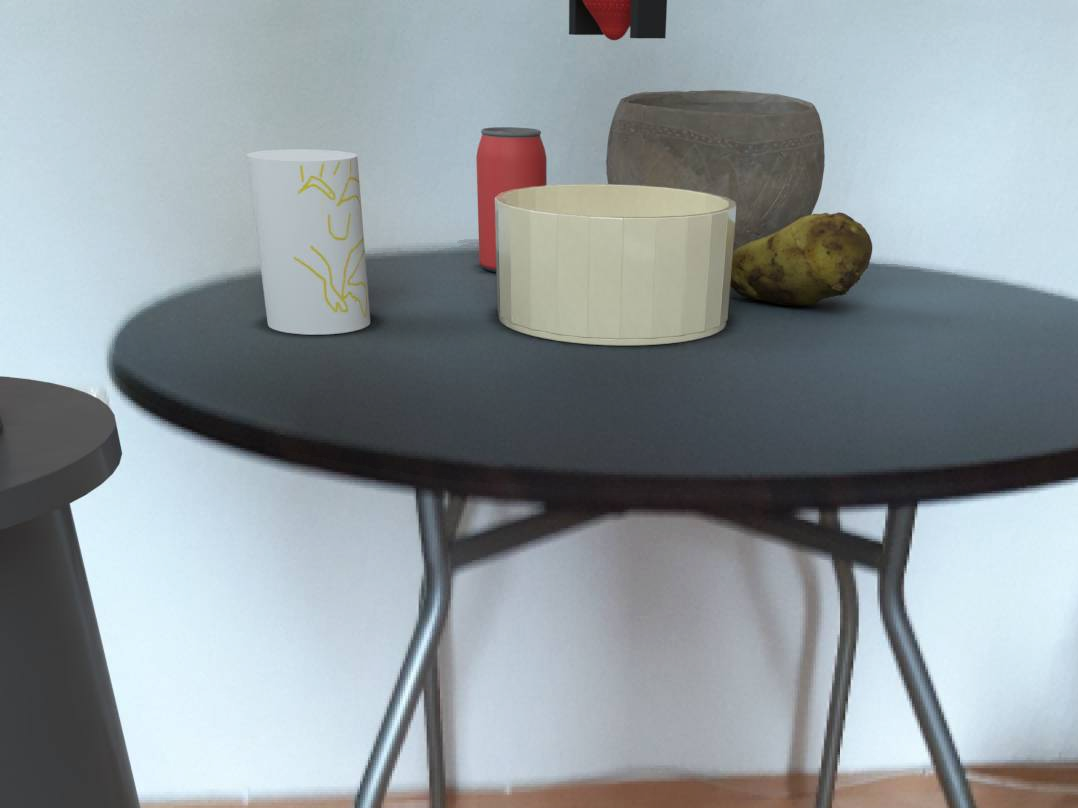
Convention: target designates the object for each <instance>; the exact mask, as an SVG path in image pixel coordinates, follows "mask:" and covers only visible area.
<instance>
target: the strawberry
mask: <svg viewBox="0 0 1078 808" xmlns="http://www.w3.org/2000/svg"><path fill="white" fill-rule="evenodd" d="M583 2H584V4H585V6H586V7H587V9H588V10H589V12H590V13H591V15H592V16H593V18H594V19H595V20H596V22H597V24H598V25H599V27H600V29H601V31H602V32H603V36H605V37H606V38H607V39H608V40H610V41H618V40H620V39H622V38H623V37H624V36H625V35H626V33H627V32H628V30H630V18H631V0H583Z"/></svg>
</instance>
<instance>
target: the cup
mask: <svg viewBox="0 0 1078 808" xmlns="http://www.w3.org/2000/svg"><path fill="white" fill-rule="evenodd" d="M358 159H359V158H358V154H356V153H354V152H349V151H345V150H344V151H343V150H332V149H311V148H310V149H309V148H308V149H307V148H288V149H287V148H286V149H269V150H267V149H266V150H259V151H252V152H248V153H247V154H246V161H247V169H248V177H249V185H250V192H251V201H252V208H253V217H254V224H255V233H256V234H255V235H256V241H257V249H258V257H259V266H260V272H261V280H262V289H263V297H264V305H265V312H266V322H267V326H268V327H269V328H270V329H272V330H274V331H278V332H281V333H286V334H295V335H312V336H313V335H317V336H319V335H321V336H322V335H335V334H345V333H351V332H355V331H360V330H362V329H365V328H367V327H368V326H370V325H371V313H370V311H371V310H370V299H369V287H368V286H369V285H368V275H367V274H368V273H367V261H366V249H365V237H364V236H365V235H364V223H363V213H362V212H363V211H362V199H361V197H362V196H361V185H360V173H359V160H358Z"/></svg>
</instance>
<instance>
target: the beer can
mask: <svg viewBox="0 0 1078 808" xmlns="http://www.w3.org/2000/svg"><path fill="white" fill-rule="evenodd" d="M480 133H481V137H480V139H479V142H478V143H479V144H478V145H477V152H476V161H475V163H476V191H477V193H476V194H477V227H478V258H479V260H478V261H479V264H480V266H481V267H482V268H483V269H484V270H486V271H488V272H491V273H495V274H497V272H496V229H495V197H496V196H497V195H498V194H500V193H502V192H506V191H509V190H513V189H519V188H526V187H533V186H546V185H548V184H547V183H548V182H547V172H548V171H547V170H548V169H547V167H548V166H547V164H548V163H547V159H548V158H547V154H546V149H545V146H544V143H543V140H542V137H541V134H542V131H541V130H540V129H537V128H532V127H531V128H530V127H516V126H515V127H512V126H500V127H499V126H498V127H497V126H496V127H484V128H482V129H481V130H480Z"/></svg>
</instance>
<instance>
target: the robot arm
mask: <svg viewBox="0 0 1078 808" xmlns="http://www.w3.org/2000/svg"><path fill="white" fill-rule="evenodd" d="M667 11H668V0H631V18H630V27H629V38H630V39H666V36H667V15H668V14H667ZM568 35H571V36H573V35H574V36H604V34H603V32H602V31H601V29H600V27H599V25H598V24H597V22H596V20H595V19H594V18H593V16H592V15H591V13H590V12H589V10H588V9H587V7H586V6H585V4H584V2H583V0H568ZM2 426H3V424H2V420H1V416H0V431H1V429H2Z"/></svg>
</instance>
